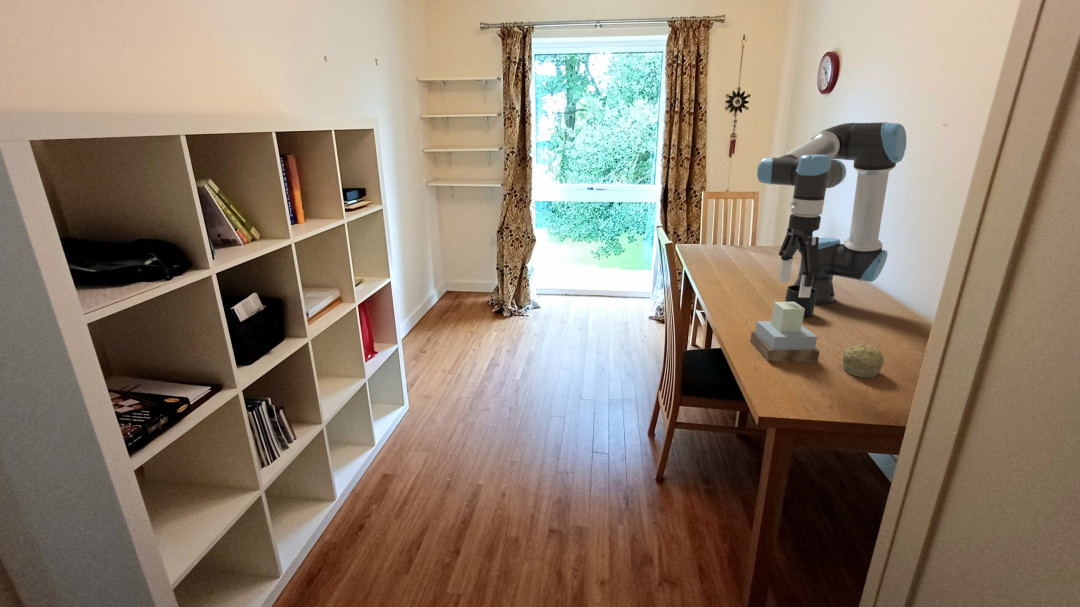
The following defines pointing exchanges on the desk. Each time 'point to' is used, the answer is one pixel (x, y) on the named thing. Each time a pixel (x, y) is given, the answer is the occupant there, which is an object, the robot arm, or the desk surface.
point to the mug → (802, 299)
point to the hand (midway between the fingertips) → (793, 289)
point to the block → (787, 316)
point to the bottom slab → (783, 352)
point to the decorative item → (862, 360)
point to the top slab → (785, 337)
